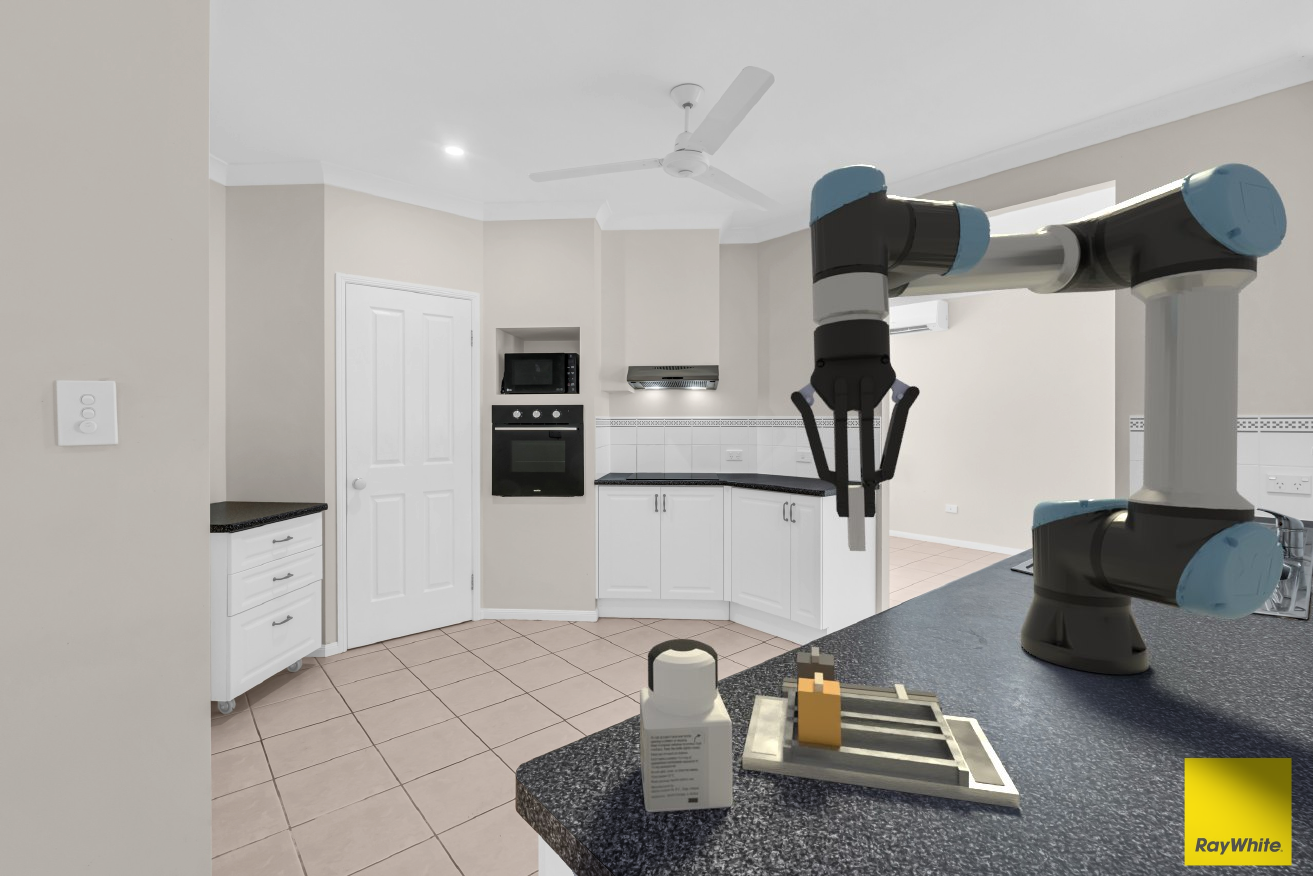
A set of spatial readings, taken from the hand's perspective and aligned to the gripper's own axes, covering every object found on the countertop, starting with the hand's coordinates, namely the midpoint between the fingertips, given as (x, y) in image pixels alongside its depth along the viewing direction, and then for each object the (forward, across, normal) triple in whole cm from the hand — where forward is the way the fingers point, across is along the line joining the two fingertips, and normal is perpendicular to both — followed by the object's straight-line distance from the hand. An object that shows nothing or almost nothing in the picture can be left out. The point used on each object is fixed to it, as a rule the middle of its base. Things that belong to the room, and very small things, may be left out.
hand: (856, 548), depth 60 cm
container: (+21, +17, +11) cm, 29 cm away
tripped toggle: (+19, +4, +4) cm, 20 cm away
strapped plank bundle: (+21, -1, -11) cm, 24 cm away
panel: (+21, 0, 0) cm, 21 cm away
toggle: (+19, +5, -4) cm, 20 cm away
